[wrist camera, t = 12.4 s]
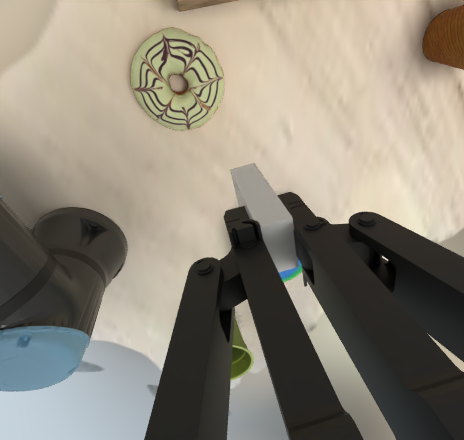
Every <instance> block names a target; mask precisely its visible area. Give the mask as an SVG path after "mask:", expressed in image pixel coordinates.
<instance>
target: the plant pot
mask: <svg viewBox="0 0 464 440" xmlns="http://www.w3.org/2000/svg"><path fill="white" fill-rule="evenodd" d="M253 363H254V358H253V355H252V353H251V352H250V351H249V350H248V348H247V346H246V344H245V343H244V341H243V338H242V335H241V333H240V330H239V328H238V325H237V322H236V319H235V317H234V332H233V348H232V364H231V379H230V381H231V380H234V379H237V378H239V377H241V376H242V375H244V374H245V373H247V372H248V371H249V370H250V369H251V367H252V365H253Z"/></svg>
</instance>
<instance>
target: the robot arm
mask: <svg viewBox="0 0 464 440" xmlns="http://www.w3.org/2000/svg"><path fill="white" fill-rule="evenodd" d="M230 171H231V175H232V179H233V183H234V187H235V191H236V196H237V200H238V204H239V207H238V208H234V209H231V210H227V211H226V212H225V215H224V220H225V224H226V227H227V231H228V234H229V238H230V241H231V245H232V248H231V251H230V252H229V254H228V255H227V256H225V257H224V258H222V259H221V260H219V261H218V260H217V259H215V258H208V257H207V258H203V259H200V260H198V261H196V262H195V263H194V264H193V265H192V266H191V267H190V269H189V272H188V276H187V280H186V283H185V287H184V291H183V295H182V299H181V302H180V306H179V310H178V314H177V318H176V321H175V325H174V329H173V333H172V337H171V340H170V344H169V348H168V352H167V355H166V359H165V363H164V367H163V371H162V374H161V378H160V383H159V386H158V390H157V393H156V397H155V401H154V405H153V409H152V413H151V416H150V420H149V424H148V428H147V431H146V436H145V439H144V440H227V425H228V411H229V395H230V379H231V364H232V348H233V332H234V317H235V308H234V307H235V306H237V305H238V304H240V303H241V302H243V301H245V300H246V299H248V303H249V306H250V310H251V313H252V316H253V320H254V323H255V326H256V330H257V333H258V336H259V340H260V343H261V347H262V350H263V353H264V357H265V360H266V363H267V367H268V370H269V373H270V377H271V380H272V384H273V387H274V390H275V394H276V397H277V400H278V404H279V407H280V411H281V414H282V417H283V420H284V424H285V427H286V431H287V434H288V437H289V440H363V438H362V436H361V434H360V431H359V430H358V428H357V426H356V424H355V422H354V420H353V419H352V417H351V416H350V415H349V413H347V412H346V411H345V410H344V409H343V407H342V406H341V404H340V402H339V400H338V398H337V395H336V394H335V391H334V389H333V387H332V385H331V383H330V380H329V378H328V376H327V374H326V372H325V370H324V368H323V366H322V364H321V362H320V359H319V357H318V355H317V353H316V351H315V349H314V347H313V344H312V342H311V340H310V338H309V336H308V334H307V332H306V330H305V327H304V325H303V323H302V321H301V319H300V317H299V315H298V313H297V310H296V308H295V306H294V304H293V302H292V300H291V298H290V296H289V293H288V291H287V289H286V287H285V285H284V283H283V281H282V279H281V277H280V274H279V272H283V271H286V270H289V269H293V268H296V267H299V264H298V259H299V261H300V263H301V264H302V272H303V281H304V286H307V282H308V284H309V285H310V287H311V289H312V291H313V292H314V294H315V296H316V298H317V299H318V301H319V303H320V305H321V306H322V308H323V310H324V312H325V314H326V315H327V317H328V319H329V321H330V322H331V324H332V326H333V327H334V329H335V331H336V333H337V334H338V336H339V338H340V340H341V342H342V343H343V345H344V347H345V349H346V351H347V352H348V354H349V356H350V358H351V359H352V361H353V363H354V364H355V366H356V368H357V370H358V372H359V373H360V375H361V377H362V379H363V380H364V382H365V384H366V386H367V388H368V389H369V391H370V392H371V395H372V396H373V398H374V400H375V401H376V403H377V405H378V407H379V409H380V410H381V412H382V414H383V416H384V417H385V419H386V421H387V423H388V424H389V426H390V428H391V430H392V431H393V433H394V435H395V437H396V440H464V372H462V371H461V370H460V369H459V368H458V367H457V366H455V364H454V363H453V362H452V361H451V360H450V359H449V358H448V357H447V355H446V354H445V353H444V352H443V351H442V350H441V349H440V347H439V346H438V345H437V344H436V343H435V342H434V341H433V340H432V338H430V336H432V337H433V338H434V339H435V340H437V341H438V342H439V343H440V344H441V345H443V346H444V347H445V348H447V349H448V350H449V351H451V352H452V353H453V354H454V355H455V356H457V357H458V358H459V359H460V360H462V361H463V362H464V257H462V256H460V255H458V254H456V253H454V252H452V251H450V250H448V249H446V248H444V247H442V246H440V245H438V244H436V243H434V242H432V241H430V240H428V239H426V238H425V237H423V236H421V235H419V234H417V233H415V232H413V231H411V230H409V229H407V228H405V227H403V226H401V225H399V224H397V223H395V222H393V221H391V220H389V219H387V218H385V217H383V216H381V215H379V214H376V213H373V212H359V213H356V214H354V215H352V216H351V217H350V219H349V224H330V223H329V222H328V221H327V220H326V219H324V218H321V217H316V216H315V215H314V214H313V213H312V211H311V210H310V209H309V208H308V207H307V205H305V203H304V202H303V201H302V199H301V198H300V197H299V196H298V195H296V194H294V193H292V192H288V193H285V194H281V195H278V196H277V195H276V193H275V192H274V190H273V189H272V188H271V186H270V185H269V183H268V182H267V180H266V179H265V178H264V176H263V175H262V173H261V172H260V170H259V169H258V168H257V166H256V165H255V163H253V164H249V165H245V166H242V167H238V168H235V169H231V170H230ZM1 198H3V197H2V196H1V195H0V391H30V390H37V389H42V388H45V387H49V386H52V385H55V384H57V383H59V382H61V381H63V380H65V379H66V378H68V377H69V376H70V375H72V374H73V373H74V372H75V370H76V369H77V368H78V366H79V365H80V362H81V360H82V357H83V355H84V352H85V350H86V348H87V347H88V345H89V343H90V338H91V335H92V331H93V328H94V325H95V321H96V318H97V314H98V311H99V308H100V304H101V301H102V297H103V294H104V291H105V288H106V287H107V286H108V285H109V283H110V282H111V281H112V279H113V278H115V277H116V276H117V275H118V273H119V272H120V271H121V269H122V267H123V266H124V263H125V259H126V256H127V250H128V249H127V241H126V238H125V236H124V234H123V232H122V231H121V230H120V228H119V227H118V226H117V225H116V224H115V223H114V222H113V221H111V220H110V219H109V218H107V217H105V216H104V215H102V214H100V213H97V212H95V211H91V210H88V209H83V208H63V209H59V210H55V211H52V212H50V213H48V214H47V215H45V216H44V217H42V218H41V219H40V220H39V221H38V222H37V224H36V225H35V226H34V227H33V229H32V230H31V231H30V230H29V229H28V227H27V226H26V225H25V224H24V223H23V222H22V221H21V220H20V219H19V217H18V216H17V215H16V214H15V213H14V212H13V211H12V210H11V209H10V207H9V206H8V205H7V204H6V203H5V202H4V201H3V200H2V199H1ZM382 256H384V257H385V258H387V259H388V260H389V261H387V260H385V259H383V258H382ZM427 333H428V334H429V335H430V336H429V335H428V334H427Z"/></svg>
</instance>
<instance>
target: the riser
mask: <svg viewBox="0 0 464 440" xmlns="http://www.w3.org/2000/svg"><path fill="white" fill-rule="evenodd" d="M232 1H237V0H177V3H178V8H179V12H180V11H185V10H190V9H195V8H201V7H206V6H211V5H216V4H221V3H227V2H232Z"/></svg>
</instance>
